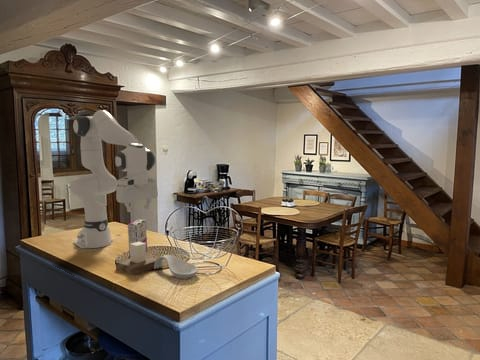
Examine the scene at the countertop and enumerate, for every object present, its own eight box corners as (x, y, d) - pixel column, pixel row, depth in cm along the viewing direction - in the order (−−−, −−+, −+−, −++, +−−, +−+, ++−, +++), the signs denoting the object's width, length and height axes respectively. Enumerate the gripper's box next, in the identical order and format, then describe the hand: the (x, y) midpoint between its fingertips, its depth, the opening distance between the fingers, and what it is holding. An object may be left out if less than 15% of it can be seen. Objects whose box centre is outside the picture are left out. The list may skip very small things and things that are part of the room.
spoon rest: (203, 275, 156) (203, 259, 156) (184, 284, 147) (184, 267, 146) (166, 264, 170) (166, 250, 170) (146, 272, 161) (146, 256, 160)
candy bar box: (138, 248, 194) (137, 219, 192) (147, 249, 193) (146, 219, 191) (128, 255, 183) (127, 224, 182) (137, 256, 182) (136, 224, 181)
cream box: (130, 260, 165) (129, 243, 164) (139, 258, 169) (139, 241, 168) (137, 263, 162) (136, 245, 161) (146, 260, 166) (145, 243, 165)
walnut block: (116, 270, 164) (115, 262, 163) (140, 261, 175) (139, 253, 175) (136, 277, 156) (136, 268, 156) (160, 267, 168) (160, 259, 167)
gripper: (151, 177, 171) (152, 205, 173) (113, 181, 155) (114, 212, 157) (160, 178, 167) (161, 207, 169) (122, 182, 151) (123, 214, 153)
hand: (138, 210), depth 163 cm, fingers open, 8 cm apart
